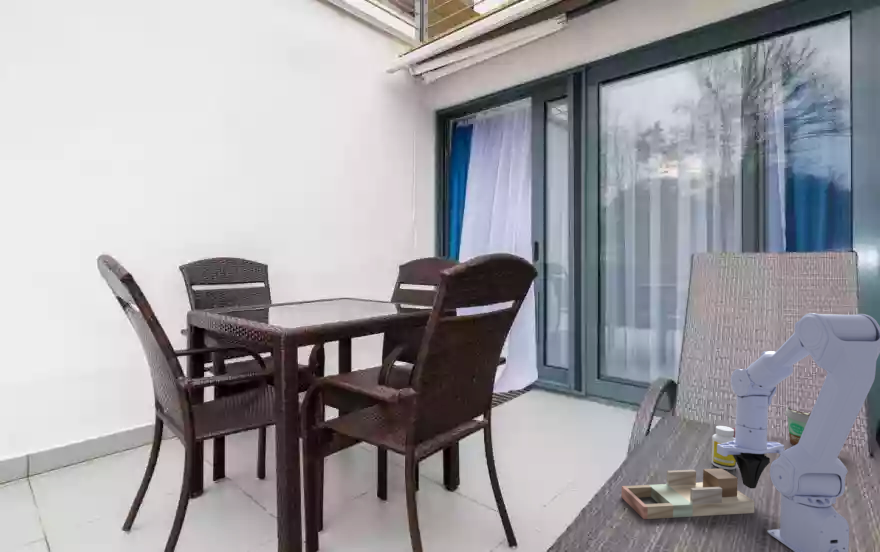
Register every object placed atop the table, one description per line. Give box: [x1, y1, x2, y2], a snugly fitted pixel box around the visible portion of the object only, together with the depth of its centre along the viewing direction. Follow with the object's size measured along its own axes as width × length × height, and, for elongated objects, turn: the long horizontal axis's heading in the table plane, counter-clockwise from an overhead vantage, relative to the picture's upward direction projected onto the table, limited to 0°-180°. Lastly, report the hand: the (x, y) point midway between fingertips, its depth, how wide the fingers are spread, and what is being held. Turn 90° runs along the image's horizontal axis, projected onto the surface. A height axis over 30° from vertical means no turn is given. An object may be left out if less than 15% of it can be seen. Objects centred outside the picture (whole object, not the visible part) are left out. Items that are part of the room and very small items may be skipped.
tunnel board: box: [620, 469, 756, 520], centre depth 96 cm, size 9×25×6 cm, turn 97°
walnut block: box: [702, 468, 739, 497], centre depth 97 cm, size 4×4×4 cm
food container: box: [784, 405, 811, 446], centre depth 129 cm, size 12×6×10 cm, turn 25°
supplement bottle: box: [710, 425, 737, 470], centre depth 116 cm, size 5×5×10 cm
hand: (749, 486), depth 98 cm, fingers closed
